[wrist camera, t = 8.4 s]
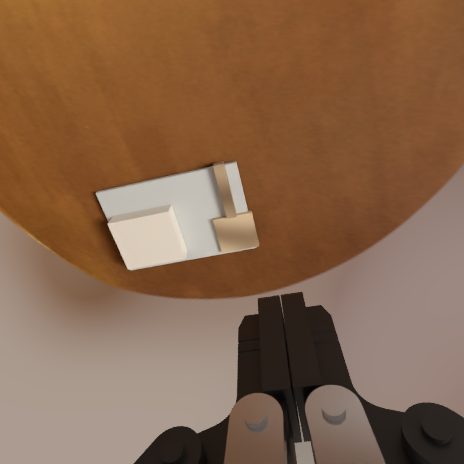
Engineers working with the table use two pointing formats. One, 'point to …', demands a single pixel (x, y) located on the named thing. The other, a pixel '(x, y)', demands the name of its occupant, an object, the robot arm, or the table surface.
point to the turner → (232, 218)
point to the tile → (148, 237)
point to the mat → (181, 205)
